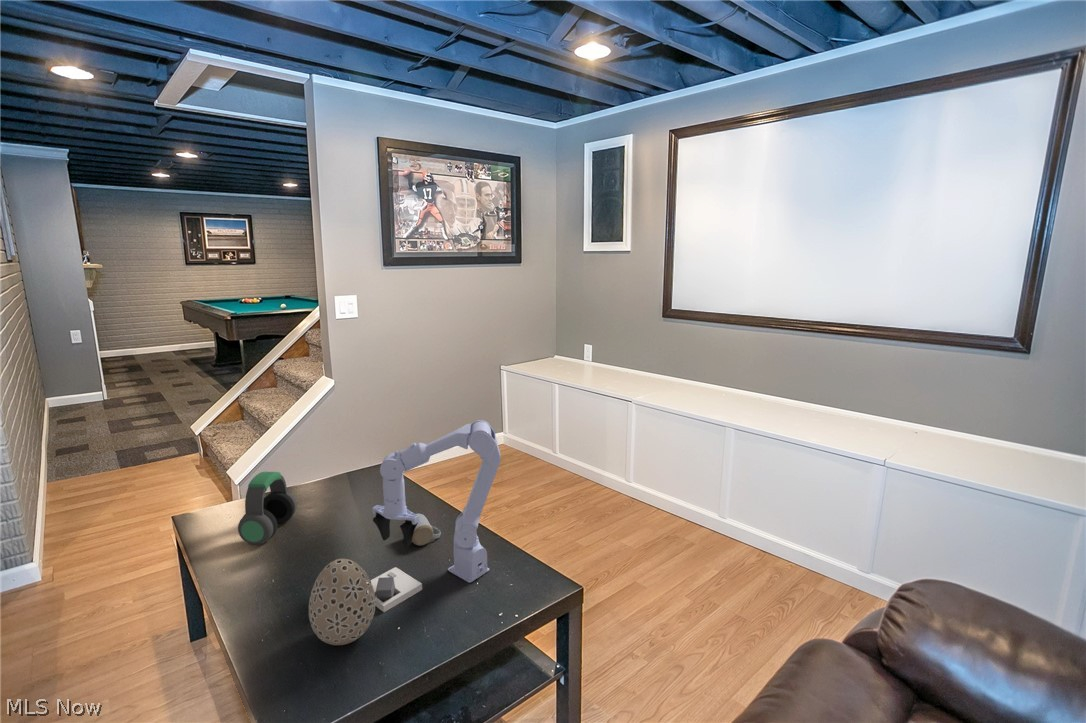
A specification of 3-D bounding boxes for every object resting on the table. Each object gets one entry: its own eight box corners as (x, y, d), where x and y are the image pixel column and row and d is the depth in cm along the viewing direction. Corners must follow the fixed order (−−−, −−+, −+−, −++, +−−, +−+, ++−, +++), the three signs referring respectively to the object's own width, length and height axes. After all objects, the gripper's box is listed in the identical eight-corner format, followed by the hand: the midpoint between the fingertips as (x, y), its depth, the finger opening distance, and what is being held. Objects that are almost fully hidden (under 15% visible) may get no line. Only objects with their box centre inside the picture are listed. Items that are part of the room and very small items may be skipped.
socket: (422, 589, 143) (421, 582, 142) (384, 612, 134) (383, 605, 133) (395, 572, 150) (395, 566, 150) (358, 593, 141) (357, 586, 141)
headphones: (271, 547, 163) (265, 487, 158) (236, 547, 163) (229, 487, 159) (300, 517, 181) (295, 463, 177) (269, 517, 181) (263, 462, 177)
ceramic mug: (412, 550, 162) (412, 527, 160) (404, 538, 168) (403, 516, 167) (445, 540, 167) (444, 518, 166) (435, 529, 174) (435, 508, 172)
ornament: (356, 608, 135) (350, 537, 131) (389, 634, 126) (385, 559, 122) (300, 640, 124) (292, 564, 120) (332, 671, 115) (325, 590, 111)
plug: (395, 589, 141) (393, 577, 139) (392, 602, 138) (390, 589, 135) (381, 590, 141) (378, 577, 138) (378, 602, 137) (375, 590, 135)
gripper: (424, 495, 146) (426, 540, 148) (383, 486, 151) (385, 529, 154) (408, 506, 139) (411, 552, 142) (365, 496, 145) (369, 541, 148)
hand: (397, 541), depth 148 cm, fingers open, 7 cm apart
